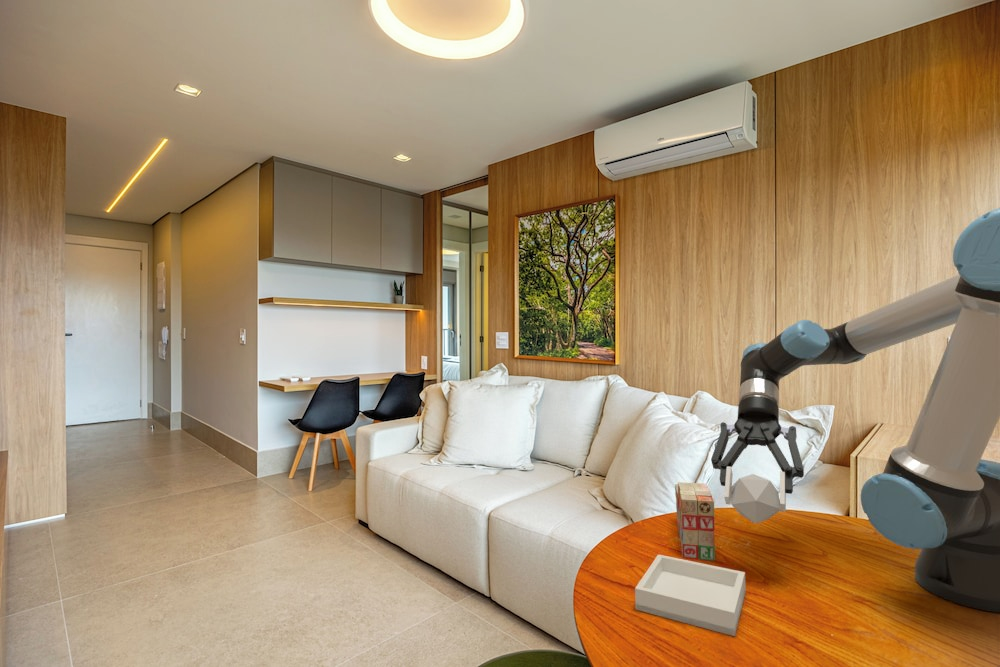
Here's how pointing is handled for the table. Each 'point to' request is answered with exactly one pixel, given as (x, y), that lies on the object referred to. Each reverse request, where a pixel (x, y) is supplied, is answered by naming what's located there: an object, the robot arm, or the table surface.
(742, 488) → the die
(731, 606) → the tray
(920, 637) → the table surface
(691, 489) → the stack of blocks
